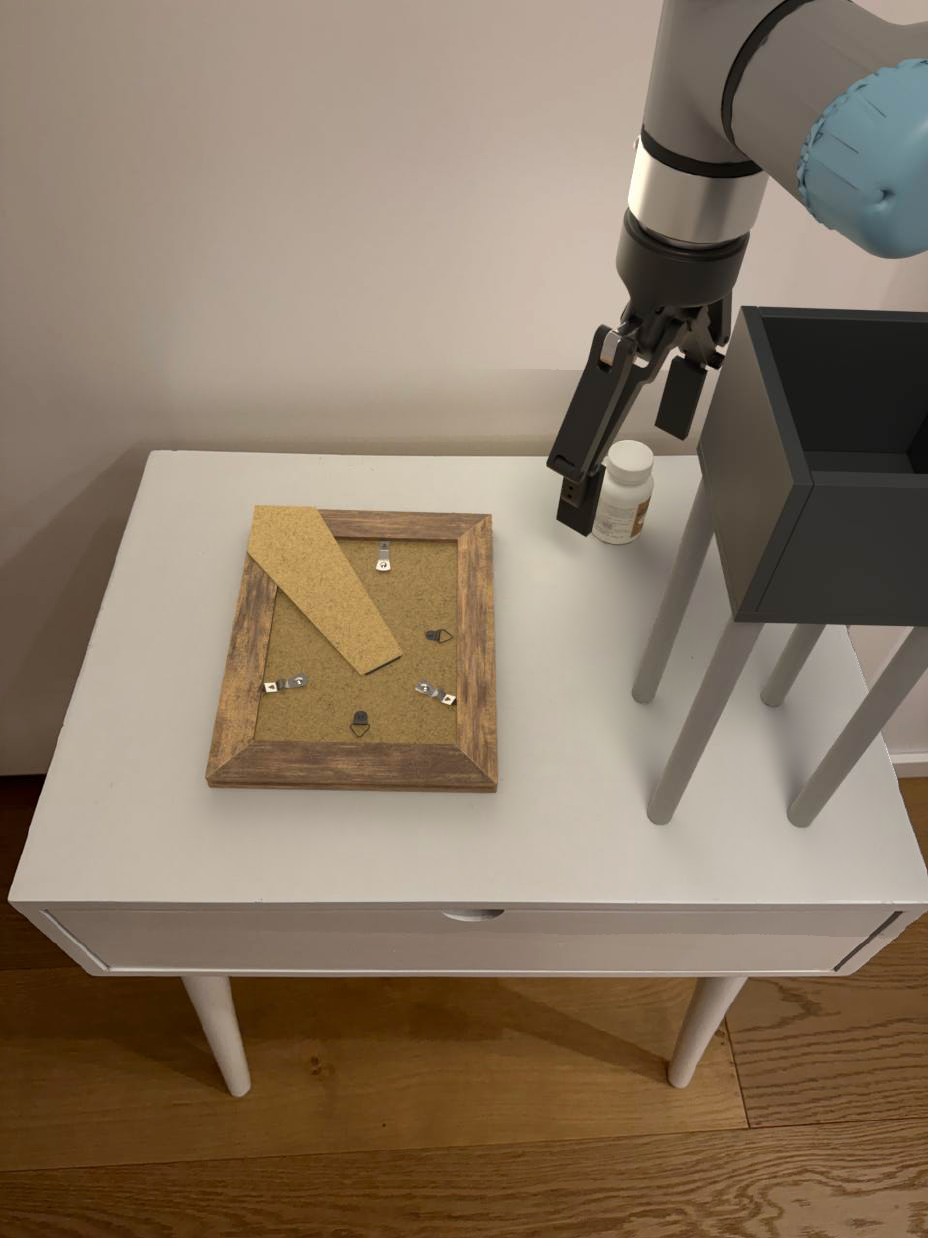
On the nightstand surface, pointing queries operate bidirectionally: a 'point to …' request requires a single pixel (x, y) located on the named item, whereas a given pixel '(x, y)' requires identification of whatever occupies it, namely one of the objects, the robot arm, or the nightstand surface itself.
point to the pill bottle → (624, 492)
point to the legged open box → (806, 519)
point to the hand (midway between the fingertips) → (624, 476)
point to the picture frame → (361, 655)
